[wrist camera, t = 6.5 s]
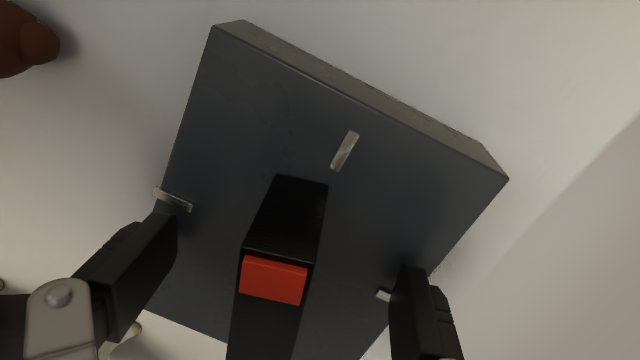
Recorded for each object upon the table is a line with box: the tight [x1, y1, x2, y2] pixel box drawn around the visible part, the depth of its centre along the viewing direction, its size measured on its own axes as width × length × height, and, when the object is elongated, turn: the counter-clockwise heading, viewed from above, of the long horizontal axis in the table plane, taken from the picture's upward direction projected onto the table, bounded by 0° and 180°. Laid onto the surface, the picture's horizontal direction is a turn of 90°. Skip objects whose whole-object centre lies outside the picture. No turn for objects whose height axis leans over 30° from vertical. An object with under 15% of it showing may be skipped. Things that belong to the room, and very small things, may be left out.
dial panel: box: [144, 20, 509, 360], centre depth 15 cm, size 12×10×3 cm
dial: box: [226, 173, 329, 360], centre depth 12 cm, size 6×2×4 cm, turn 168°
